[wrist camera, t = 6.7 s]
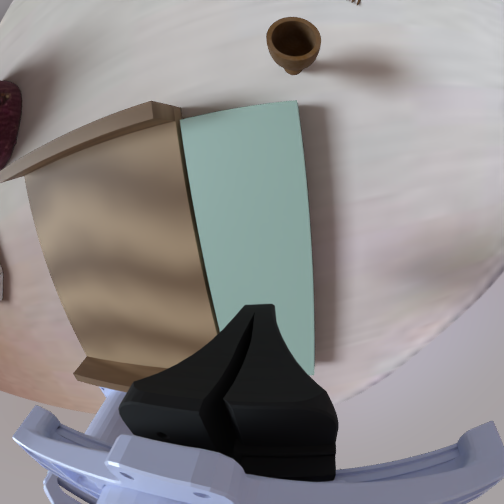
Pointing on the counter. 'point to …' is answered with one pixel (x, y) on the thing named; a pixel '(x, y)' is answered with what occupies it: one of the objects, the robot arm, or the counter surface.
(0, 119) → the vegetable
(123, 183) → the tan lipped tray
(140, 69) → the counter surface
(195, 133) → the panel
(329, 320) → the counter surface
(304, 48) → the place setting
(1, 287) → the fruit dish
